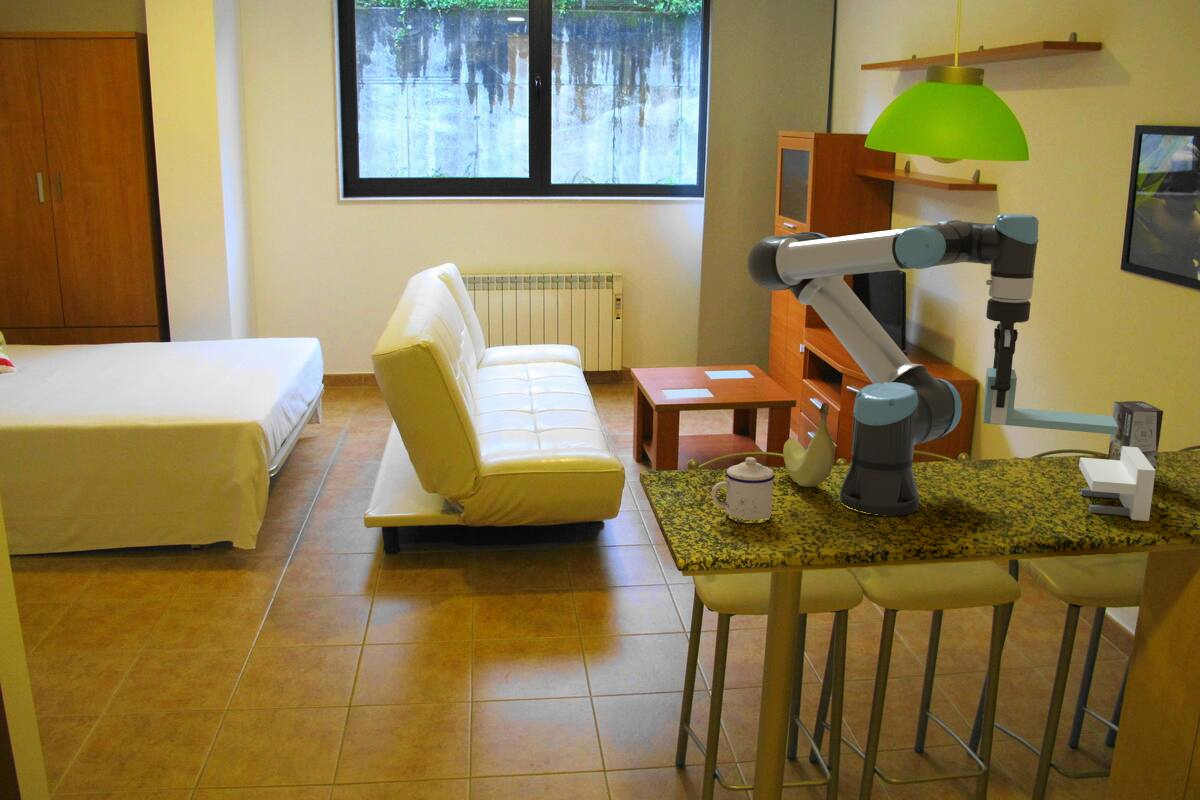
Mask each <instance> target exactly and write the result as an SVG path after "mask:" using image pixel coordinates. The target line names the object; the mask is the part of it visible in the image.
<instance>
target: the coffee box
mask: <svg viewBox="0 0 1200 800" xmlns="http://www.w3.org/2000/svg"><path fill="white" fill-rule="evenodd" d="M1163 415H1164V411H1163V410H1162V409H1159V408H1158V407H1156V406H1153V405H1151V404H1150V403H1147V402H1145V401H1140V400H1137V401H1136V400H1131V401H1130V400H1129V401H1127V400H1126V401H1114V402H1113V411H1112V416H1113V418H1114V420H1115V422H1116V423H1117V425H1118V433H1117V435H1115V434H1109V435H1110V437H1109V447H1108V456H1107V460H1120V457H1121V449H1122V446H1126V447H1138V448H1139V449H1140V451H1141V452H1142V453H1143V455H1144V456H1145V457H1146V458H1147V460H1148V461H1149V462H1150V464H1151V465H1152V466H1153V468H1154V469H1155V470H1156V469H1157V461H1158V455H1159V447H1160V446H1159V445H1160V437H1161V431H1162V424H1163V417H1164V416H1163ZM1156 471H1157V470H1156Z"/></svg>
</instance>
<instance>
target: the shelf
mask: <svg viewBox="0 0 1200 800" xmlns="http://www.w3.org/2000/svg"><path fill="white" fill-rule="evenodd" d="M1078 469H1079V470H1080V471H1081V473H1082V475H1083V477H1084V479H1085V481H1086V483H1087V485H1088V486H1089V488H1084V487H1083V488H1080V496H1081V495H1083V496H1082V497H1095V498H1106V499H1117V498H1118V499H1119V500H1120V503H1121V504H1122V506H1113V505H1111V506H1110V505H1100V504H1099V505H1098V504H1089V505H1088V507H1089V508H1088V512H1089V513H1094V514H1103V515H1106V514H1107V515H1115V516H1127V517H1128V516H1129V518H1130V519H1131V521H1141V522H1142V521H1144V522H1149V521H1150V517H1151V516H1150V515H1151V507H1152V500H1153V493H1154V486H1155V485H1154V484H1155V478H1156V471H1157V470H1155V469H1154V468H1153V466H1152V465H1151V464H1150V462H1149V461H1148V460H1147V458H1146V457H1145V456H1144V455H1143V453H1142V452H1141V451H1140V449H1139V448H1138V447H1126V446H1122V449H1121V457H1120V460H1108V458H1107V459H1105V458H1104V459H1103V458H1093V457H1092V458H1091V457H1080V458H1079V464H1078Z"/></svg>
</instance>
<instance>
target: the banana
mask: <svg viewBox="0 0 1200 800" xmlns="http://www.w3.org/2000/svg"><path fill="white" fill-rule="evenodd" d="M829 408H830V407H829V404H828V403H827V402H823V403H822V404H821V407H820V408H819V411H818V412H819V414H820V424H819V428H818V430H817V431H816V432H815V433H814V435H813V436H812V438H811V439H810V442H809V443H808V446H807V448H806V450H805V449H804V447H803V446H802V445H801V444H800V443H799V442H798V441H797V440H796V439H795V438H791V437H789V438H788V439H786V440H785V442H784V445H783V449H782V453H783V455H782V456H783V460H784V464H785V468H786V471H787V473H788V475H789V477H790V478H791V481H793V482H794V483H795V482H796V483H797V484H796V483H795V484H796V485H798V486H800V487H807V488H809V487H816V486H820V485H821V484H823V483H824V482H825V480H826V479H827V478H828V476H829V475H830V473H831V471H832V467H833V464H834V459H835V458H834V457H835V444H834V441H833V439H832V437H831V435H830V432H829V430H828V428H827V418H828V416H829Z"/></svg>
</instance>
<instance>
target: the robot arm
mask: <svg viewBox="0 0 1200 800" xmlns="http://www.w3.org/2000/svg"><path fill="white" fill-rule="evenodd" d="M1039 224H1040V223H1039V220H1038V217H1036V216H1035V215H1031V214H1024V213H1023V214H1022V213H1021V214H1020V213H1018V214H1016V213H1001V214H998V215H996V218H995V221H994V223H984V222H983V223H982V222H973V221H962V220H959V219H956V220H941V221H939V222H938V223H937V224H931V225H930V224H929V225H927V224H922V225H914V226H911V227H906V228H898V229H890V230H888V229H887V230H880V231H873V232H867V233H858V234H857V233H856V234H850V235H842V236H834V237H829V236H828V235H826V234H823V233H820V232H812V231H803V232H798V233H794V234H793V233H792V234H781V235H769V236H766V237H764V238H762V239H760V240H759V241H757V242H756V243H755V244H754V245H753V246H752V247H751V250H750V251H749V253H748V257H747V261H746V262H747V263H746V266H747V271H748V275H749V276H750V278H751V280H752V281H753V282H754V284H756V285H757V286H758V287H760V288H761V289H764V290H766V291H773V292H775V291H785V290H789V291H790V292H791V293H792V295H793V296H794V298H796V299H797V300H798V302H799V303H800V304H801V305H804V306H805V305H806V306H811V307H812V308H813V310H814V311H815V312H816V313H817V315H818V316H819V317H820V319H821V320H822V321H823V322H824V323H825V325H826V327H828V329H829V330H830V331H831V332H832V334H834V336H835V337H836V338H837V340H838V341H839V343H841V345H842V346H843V348H844V349H845V350H846V351H847V352H848V354H849V355H850V356H851V358H852V359H853V361H854V362H855V363H856V364H857V365H858V366H859V367H860V369H861V370H862V372H863V373H864V375H866V376H867V377H868V379H869V380H870V381H871V384H868V385H865V386H864V387H862V388H861V389H859V391H857V392H856V395H855V397H854V398H855V399H854V404H853V409H852V413H853V418H852V419H853V423H852V439H851V453H850V455H851V457H850V465H849V467H848V470H847V472H846V474H845V477H844V479H843V482H842V484H841V487H840V489H839V499H840V501H841V503H843V504H844V505H846V506H848V507H850V508H853V509H856V510H858V511H863V512H866V513H871V514H878V515H886V516H885V517H901V516H907V515H911V514H913V513H916V512H917V511H918V510H919V505H920V503H919V502H920V494H919V491H918V486H917V483H916V478H915V475H914V470H913V458H914V450H915V449H914V447H915V446H918V445H920V444H924V443H927V442H930V441H934V440H938V439H941V438H942V437H944V436H946V435H947V434H949V433H951V432H952V431H953V430H954V429H955V428H956V427H957V425H958V424H959V422H960V420H961V417H962V408H963V406H962V405H963V404H962V400H961V395H960V394H959V391H958V390H957V389H956V387H955V386H954V385H953V384H952V383H951V382H950V381H947V380H945V379H941V378H937V377H936V378H935V377H934V376H933V375H932V374H931V373H930V372H929V371H928V369H927V368H926V367H925V366H924V364H921V363H919V364H918V363H913V362H911V361H910V359H909V358H908V357H907V356H906V354H905V353H904V352H903V350H901V348H900V347H899V346H898V345H897V343H896V342H895V341H894V340H893V338H891V336H890V335H889V334H888V333H887V331H886V330H885V329H884V328H883V326H882V325H881V323H879V321H877V319H876V318H875V317H874V315H873V314H872V313H871V312H870V310H869V309H868V308H867V307H866V305H865V304H864V303H863V302H862V301H861V300H860V299H859V297H858V296H857V295H856V293H855V292H854V291H853V290H852V288H851V287H850V285H848V284H847V282H846V281H845V280H844V276H848V275H859V274H860V275H861V274H866V273H867V274H868V273H875V272H876V273H878V272H879V273H880V272H889V271H897V270H898V271H900V270H911V269H913V270H914V269H916V270H921V269H922V270H923V269H927V268H928V269H929V268H931V267H939V266H945V265H953V264H960V263H968V264H969V263H970V264H971V263H973V264H983V265H990V274H989V275H990V279H987V280H986V281H985V285H987V286H989V288H988V289H989V290H988V296H989V297H991V298H989V299H988V300H987V306H986V314H985V316H986V319H988V320H989V321H992V322H999V323H997V325H996V327H994V332H993V338H994V342H993V349H994V357H993V367H992V368H996V379H995V385H994V386H991V388H990V389H991V390H993V399H992V409H991V419H990V423H993V424H992V425H998V424H1004V425H1003V426H1007V425H1006V416H1007V407H1008V397H1009V390H1010V388H1011V385H1010V381H1011V371H1012V370H1013V361H1014V359H1013V357H1014V354H1015V353H1016V352H1015V351H1016V342H1017V340H1018V333H1019V332H1018V329H1015V324H1016V323H1020V324H1022V323H1026V322H1028V321H1029V320H1030V312H1031V301H1030V299H1032V298H1033V290H1034V288H1033V287H1034V280H1035V279H1034V278H1035V276H1034V275H1035V264H1036V263H1035V262H1036V257H1037V249H1038V244H1039ZM797 300H796V301H797ZM1002 382H1006V383H1002ZM840 501H839V502H840ZM841 503H840V504H841Z"/></svg>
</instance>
